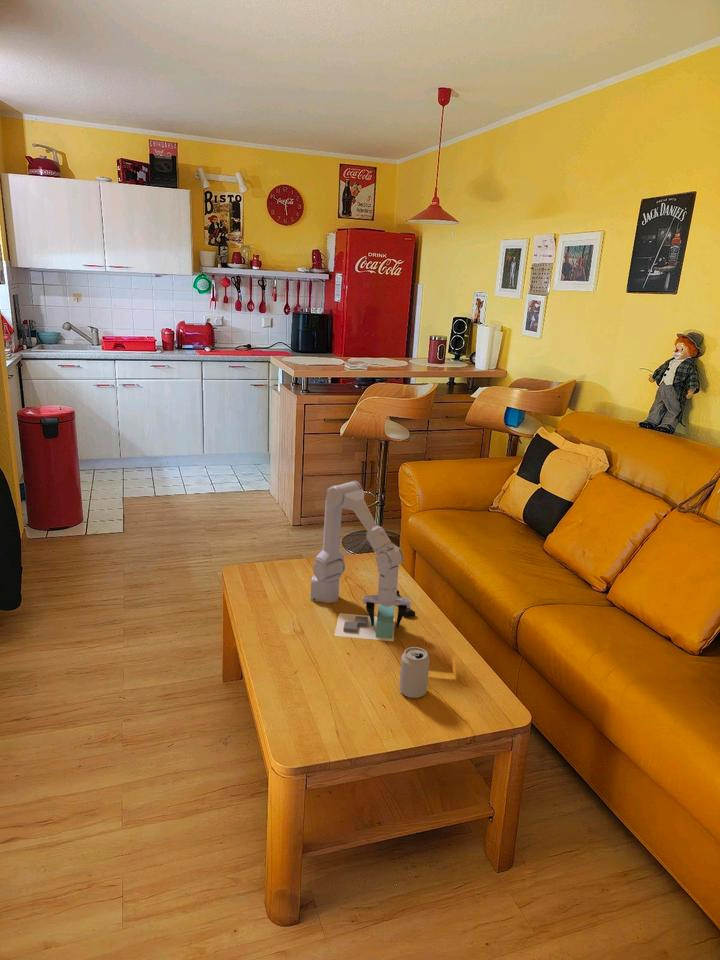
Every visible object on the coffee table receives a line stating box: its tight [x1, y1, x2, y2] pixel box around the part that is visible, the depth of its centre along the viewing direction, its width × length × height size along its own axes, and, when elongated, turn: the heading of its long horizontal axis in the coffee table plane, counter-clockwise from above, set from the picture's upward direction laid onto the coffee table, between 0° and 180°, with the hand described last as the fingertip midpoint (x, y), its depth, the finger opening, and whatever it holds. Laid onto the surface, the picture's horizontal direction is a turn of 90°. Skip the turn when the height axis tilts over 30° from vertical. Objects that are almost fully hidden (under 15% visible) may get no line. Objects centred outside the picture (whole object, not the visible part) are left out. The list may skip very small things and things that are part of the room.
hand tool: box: [396, 589, 416, 618], centre depth 221 cm, size 19×4×5 cm, turn 15°
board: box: [334, 612, 396, 642], centre depth 205 cm, size 18×14×2 cm
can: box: [398, 646, 431, 699], centre depth 175 cm, size 8×8×12 cm
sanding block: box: [376, 604, 395, 638], centre depth 204 cm, size 5×11×5 cm, turn 175°
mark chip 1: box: [343, 622, 358, 633], centre depth 203 cm, size 4×4×1 cm
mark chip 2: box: [355, 616, 368, 627], centre depth 207 cm, size 4×4×1 cm
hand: (385, 625), depth 204 cm, fingers open, 7 cm apart
